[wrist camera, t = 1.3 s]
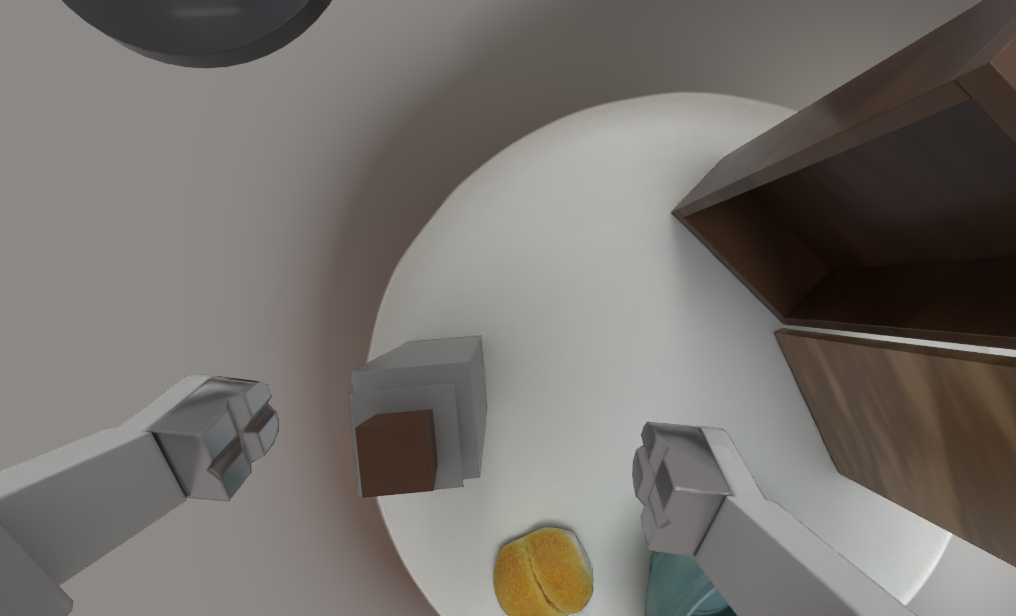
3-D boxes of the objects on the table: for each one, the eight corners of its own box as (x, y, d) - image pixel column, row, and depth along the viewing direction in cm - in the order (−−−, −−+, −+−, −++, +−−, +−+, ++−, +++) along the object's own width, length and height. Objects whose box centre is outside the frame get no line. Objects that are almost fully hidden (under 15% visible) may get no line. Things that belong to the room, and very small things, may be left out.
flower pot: (814, 577, 37) (945, 695, 26) (683, 681, 37) (759, 841, 26) (714, 449, 36) (805, 515, 25) (580, 555, 36) (614, 667, 26)
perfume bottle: (414, 414, 36) (327, 538, 18) (407, 341, 35) (312, 392, 17) (487, 407, 36) (475, 524, 18) (480, 335, 35) (462, 379, 17)
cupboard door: (832, 303, 36) (1406, 322, 13) (896, 445, 37) (1546, 694, 14) (774, 332, 36) (1248, 401, 13) (839, 473, 37) (1396, 770, 14)
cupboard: (783, 324, 36) (1285, 380, 13) (670, 212, 35) (990, 62, 12) (836, 270, 36) (1435, 230, 13) (723, 156, 35) (1145, -99, 12)
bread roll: (479, 552, 36) (477, 584, 32) (564, 509, 36) (572, 535, 32) (519, 627, 37) (521, 668, 33) (603, 584, 37) (615, 620, 33)
